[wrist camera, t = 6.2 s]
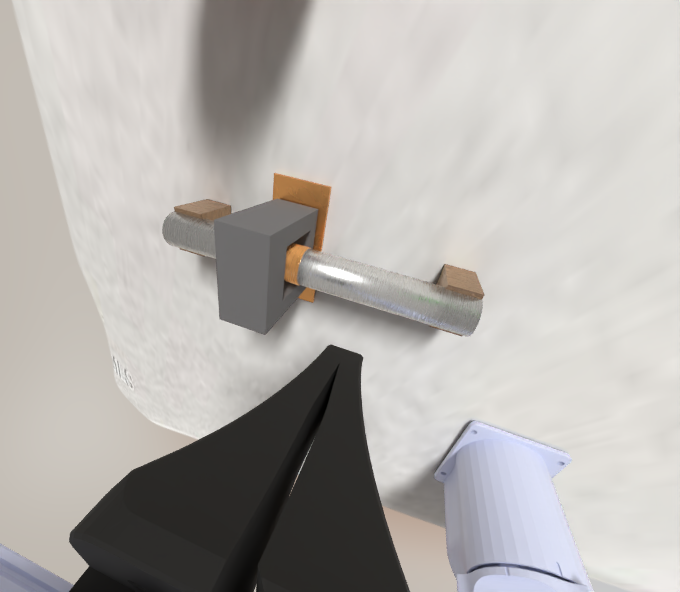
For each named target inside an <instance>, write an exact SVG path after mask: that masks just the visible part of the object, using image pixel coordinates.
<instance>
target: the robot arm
mask: <svg viewBox="0 0 680 592" xmlns="http://www.w3.org/2000/svg"><path fill="white" fill-rule="evenodd" d="M362 361H363V357H362V355H361V354H358V353H355V352H352V351H349V350H346V349H343V348H340V347H337V346H334V345H329V346H327V348H326V349H325V350H324V351H323V352H322V353H321V354H320V355H319V356H318V357H317V358H316V359H315V360H314V361H313V362H312V363H311V364H310V365H309V366H308V367H307V368H306V369H305V370H304V371H303V372H301V373H300V374H299V375H298V376H297V377H296V378H295V379H293V380H292V381H291V382H290V383H288V384H287V385H286V386H285V387H283V388H282V389H281V390H279V391H278V392H277V393H276V394H274V395H273V396H271V397H270V398H269V399H267V400H266V401H264V402H263V403H261V404H260V405H258V406H257V407H255V408H254V409H252V410H251V411H249V412H248V413H246V414H244V415H243V416H241V417H239V418H238V419H236V420H234V421H233V422H231V423H229V424H228V425H226V426H224V427H222V428H221V429H219V430H217V431H215V432H213V433H211V434H209V435H207V436H205V437H203V438H201V439H199V440H197V441H195V442H193V443H192V444H190V445H188V446H185V447H183V448H181V449H179V450H177V451H175V452H173V453H170V454H168V455H166V456H163V457H161V458H159V459H157V460H154V461H152V462H150V463H148V464H145V465H143V466H141V467H138V468H136V469H134V470H132V471H131V472H130V473H129V474H128V475H126V476H125V477H124V478H123V479H122V480H121V481H120V482H119V483H118V484H117V485H115V486H114V487H113V488H112V489H111V490H110V491H109V492H108V493H107V494H106V495H105V496H104V497H103V498H102V499H101V500H100V501H99V502H98V504H97V505H96V506H95V507H94V508H93V509H92V510H91V511H90V512H89V513H88V514H87V515H86V516H85V517H84V519H83V520H82V521H81V522H80V523H79V524H78V525H77V526H76V527H75V529H73V530H72V531H71V533H70V538H69V542H70V544H71V545H72V546H73V548H74V549H75V550H76V551H77V552H78V553H79V555H80V556H81V557H82V558H83V559H84V560H85V561H86V563H88V565H89V567H88V569H87V570H86V571H85V572H84V574H83V575H82V576H81V577H80V578H79V580H78V581H77V582H76V583H75V585H73V584H71V583H69V582H67V581H66V580H64V579H62V578H60V577H59V576H57V575H55V574H53V573H52V572H50V571H48V570H46V569H44V568H43V567H41V566H39V565H37V564H36V563H33V562H32V561H30V560H28V559H27V558H25V557H23V556H21V555H20V554H18V553H16V552H14V551H13V550H11V549H9V548H7V547H5V546H4V545H2V544H0V592H254V589H255V586H256V584H257V587H256V592H410V591H409V588H408V585H407V582H406V580H405V576H404V574H403V571H402V568H401V565H400V562H399V559H398V556H397V553H396V550H395V547H394V544H393V541H392V538H391V535H390V531H389V528H388V525H387V522H386V519H385V515H384V512H383V508H382V504H381V501H380V497H379V493H378V490H377V486H376V482H375V478H374V474H373V470H372V465H371V461H370V456H369V451H368V446H367V440H366V434H365V427H364V420H363V411H362V398H361V367H362ZM314 438H315V439H314ZM313 440H314V441H313ZM312 442H313V443H312ZM311 445H312V446H311ZM310 447H311V448H310ZM309 449H310V450H309ZM308 451H309V453H308ZM307 453H308V455H307ZM306 455H307V457H306ZM305 457H306V460H305V462H304V464H303V467H302V469H301V471H300V473H299V476H298V478H297V480H296V483H295V485H294V482H295V479H296V477H297V475H298V472H299V470H300V468H301V466H302V463H303V461H304V459H305ZM571 461H572V459H571V457H570V455H569V454H567V453H565V452H562V451H560V450H557V449H554V448H551V447H548V446H545V445H543V444H540V443H537V442H534V441H531V440H528V439H526V438H523V437H520V436H517V435H514V434H511V433H508V432H506V431H503V430H500V429H497V428H494V427H491V426H489V425H486V424H483V423H480V422H477V421H473V422H471V423H470V424H469V425H468V427H467V428H466V429H465V431H464V432H463V434H462V435H461V436H460V438H459V439H458V441H457V442H456V444H455V445H454V446H453V448H452V449H451V451H450V452H449V453H448V455H447V456H446V458H445V459H444V461H443V462H442V463H441V465H440V466H439V468H438V469H437V470H436V472H435V473H434V478H435V479H436V480H437V481H440V482H442V483H444V499H445V521H446V541H447V554H448V559H449V562H450V565H451V568H452V571H453V573H454V575H455V577H456V580H457V591H458V592H594V591H593V588H592V586H591V583H590V580H589V577H588V575H587V572H586V569H585V567H584V564H583V561H582V559H581V556H580V553H579V551H578V548H577V545H576V543H575V540H574V537H573V535H572V532H571V529H570V527H569V524H568V521H567V519H566V516H565V513H564V511H563V508H562V505H561V503H560V500H559V497H558V495H557V492H556V489H555V487H554V484H553V481H552V478H553V477H554V476H555V475H556V474H558V473H559V472H560V471H561V470H562V469H563V468H565V467H566V466H567V465H568V464H569V463H570V462H571ZM293 485H294V487H293ZM292 488H293V489H292ZM291 490H292V492H291ZM290 493H291V494H290ZM289 495H290V496H289Z"/></svg>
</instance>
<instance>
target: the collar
mask: <svg viewBox="0 0 680 592" xmlns="http://www.w3.org/2000/svg"><path fill="white" fill-rule="evenodd" d="M317 216H318V209H316V208H312V207H308V206H304V205H301V204H297V203H293V202H289V201H285V200H281V199H275V200H272V201H269V202H266V203H263V204H260V205H257V206H254V207H251V208H248V209H245V210H242V211H239V212H236V213H233V214H230V215H227V216H224V217H221V218H218V219H215V220H214V235H215V251H216V268H217V284H218V300H219V317H220V319H221V320H224V321H227V322H230V323H232V324H235V325H238V326H241V327H244V328H247V329H250V330H253V331H256V332H258V333H261V334H264V335H266V333H267V332H268V331H269V330H270V329H271V328H272V327H273V325H274V324H275V323H276V322H277V321H278V320H279V319H280V317H281V316H282V315H283V314H284V313H285V312H286V311H287V309H288V308H289V307H290V306H291V305H292V304H293V303H294V301H295V300H296V299H297V298H298V297H299V296H300V295H301V293H302V292H303V291H304V290H305V289H306V288H307V287H305V286H302V285H300V286H299V285H296V284H292V283H289V282H286V281H284V276H285V264H286V252H287V246H289V245H290V244H292V243H295V244H299V245H302V246H306V247H309V248H311V249H313V245H314V238H315V231H316V223H317Z"/></svg>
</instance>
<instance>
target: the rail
mask: <svg viewBox="0 0 680 592" xmlns="http://www.w3.org/2000/svg"><path fill="white" fill-rule="evenodd" d="M330 193H331V187H330V186H326V185H322V184H318V183H314V182H309V181H305V180H301V179H297V178H293V177H289V176H285V175H281V174H277V173H274V186H273V200H275V199H281V200H285V201H289V202H293V203H297V204H301V205H304V206H308V207H312V208H316V209H318V216H317V223H316V231H315V238H314V245H313V249H311V248H309V247H306V246H302V245H299V244H295V243H292V244H290V245H289V246H287V252H286V264H285V276H284V281H286V282H289V283H292V284H296V285H299V286H300V285H302V286H305V287H307V288H306V289H305V290H304V291H303V292H302V293H301V295H300V296H299V297H298V298H300V299H303V300H306V301H309V302H312V303H313V302H314V296H315V290H318V291H321V292H324V293H327V294H331V295H334V296H337V297H340V298H344V299H347V300H350V301H353V302H357V303H360V304H363V305H366V306H370V307H373V308H376V309H379V310H383V311H386V312H389V313H392V314H395V315H399V316H402V317H405V318H408V319H412V320H415V321H418V322H421V323H425V324H428V325H429V326H430V327H433V328H436V329H440V330H443V331H446V332H449V333H453V334H456V335H459V336H467V337H468V336H470V335H471V334H472V333H473V332H474V330H475V329H476V327H477V325H478V322H479V320H480V317H481V313H482V306H483V302H482V298H483V296H484V293H483V290H482V287H481V285H480V282H479V280H478V277H477V274H476V272H472V271H468V270H465V269H461V268H457V267H454V266H450V265H446V264H445V265H444V268H443V270H442V272H441V275H440V277H439V280H438V282H437V284H433V283H429V282H426V281H422V280H419V279H415V278H412V277H408V276H405V275H401V274H398V273H394V272H391V271H387V270H384V269H380V268H377V267H373V266H370V265H366V264H363V263H359V262H356V261H352V260H349V259H345V258H342V257H338V256H335V255H331V254H328V253H324V252H321V251H322V245H323V238H324V232H325V225H326V219H327V212H328V206H329V200H330ZM174 209H175V211H174V212H172V213H170V214H169V215H168V216H167V217H166V219H165V221H164V223H163V229H162V231H163V236H164V239H165V241H166V242H167V243H168V244H170V245H172V246H175V247H179V248H180V249H181V250H184V251H188V252H191V253H194V254H197V255H201V256H208V257H211V258H214V259H216V251H215V235H214V220H215V219H218V218H221V217H224V216H227V215H230V214H231V206H230V205H227V204H223V203H219V202H216V201H212V200H208V199H206V200H202V201H197V202H193V203H189V204H184V205H180V206H176V207H174Z"/></svg>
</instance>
